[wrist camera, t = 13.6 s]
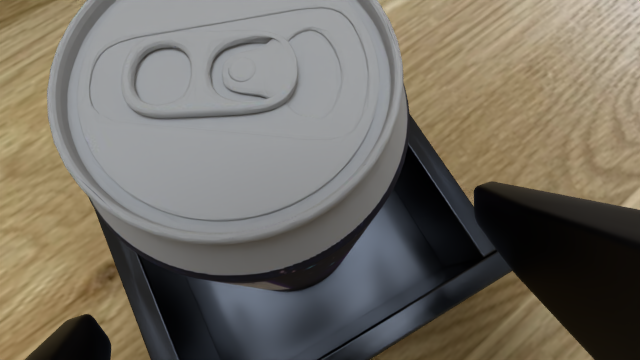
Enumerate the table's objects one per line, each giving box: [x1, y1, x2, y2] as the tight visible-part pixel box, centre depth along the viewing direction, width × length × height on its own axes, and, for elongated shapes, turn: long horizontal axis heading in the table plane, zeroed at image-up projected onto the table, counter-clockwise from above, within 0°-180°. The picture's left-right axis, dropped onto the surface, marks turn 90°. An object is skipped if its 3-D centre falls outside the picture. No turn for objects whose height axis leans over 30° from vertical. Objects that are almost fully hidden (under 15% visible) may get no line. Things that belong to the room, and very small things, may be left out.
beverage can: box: [47, 0, 410, 292], centre depth 11 cm, size 6×6×12 cm
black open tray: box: [94, 114, 513, 360], centre depth 15 cm, size 12×12×4 cm
